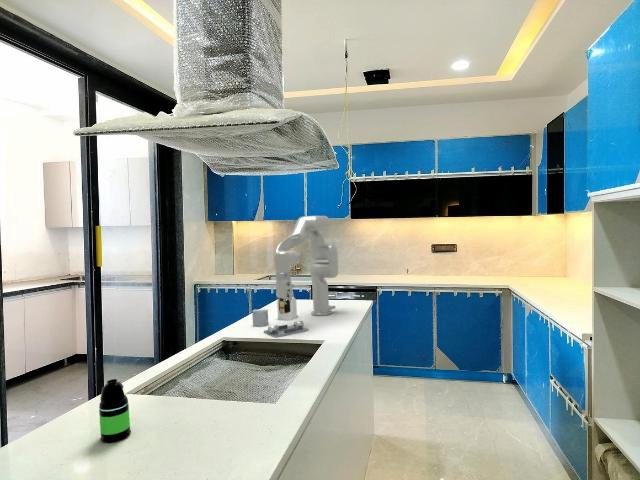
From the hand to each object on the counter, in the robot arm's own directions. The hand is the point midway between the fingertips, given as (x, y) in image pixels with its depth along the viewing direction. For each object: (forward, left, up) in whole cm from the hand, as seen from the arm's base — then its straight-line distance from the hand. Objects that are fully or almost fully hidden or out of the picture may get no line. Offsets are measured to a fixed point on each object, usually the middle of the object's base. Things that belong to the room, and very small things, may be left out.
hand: (284, 310), depth 214 cm
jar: (-17, -28, -11) cm, 35 cm away
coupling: (0, 0, -1) cm, 1 cm away
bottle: (+89, +65, -11) cm, 110 cm away
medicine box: (+3, -23, -11) cm, 26 cm away
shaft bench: (0, 0, -11) cm, 11 cm away
